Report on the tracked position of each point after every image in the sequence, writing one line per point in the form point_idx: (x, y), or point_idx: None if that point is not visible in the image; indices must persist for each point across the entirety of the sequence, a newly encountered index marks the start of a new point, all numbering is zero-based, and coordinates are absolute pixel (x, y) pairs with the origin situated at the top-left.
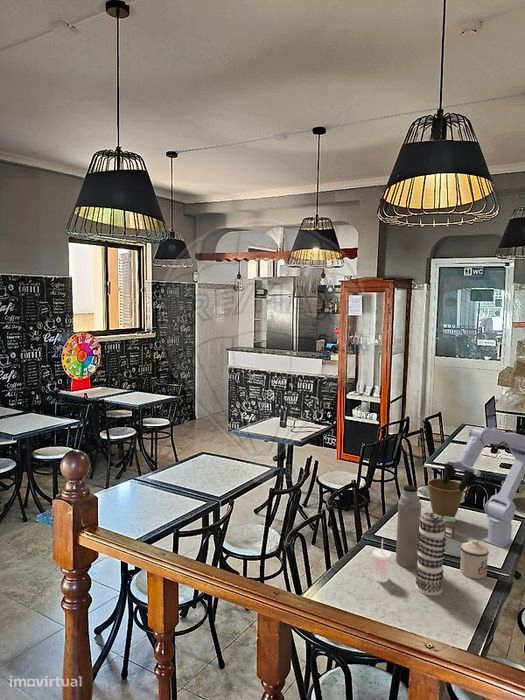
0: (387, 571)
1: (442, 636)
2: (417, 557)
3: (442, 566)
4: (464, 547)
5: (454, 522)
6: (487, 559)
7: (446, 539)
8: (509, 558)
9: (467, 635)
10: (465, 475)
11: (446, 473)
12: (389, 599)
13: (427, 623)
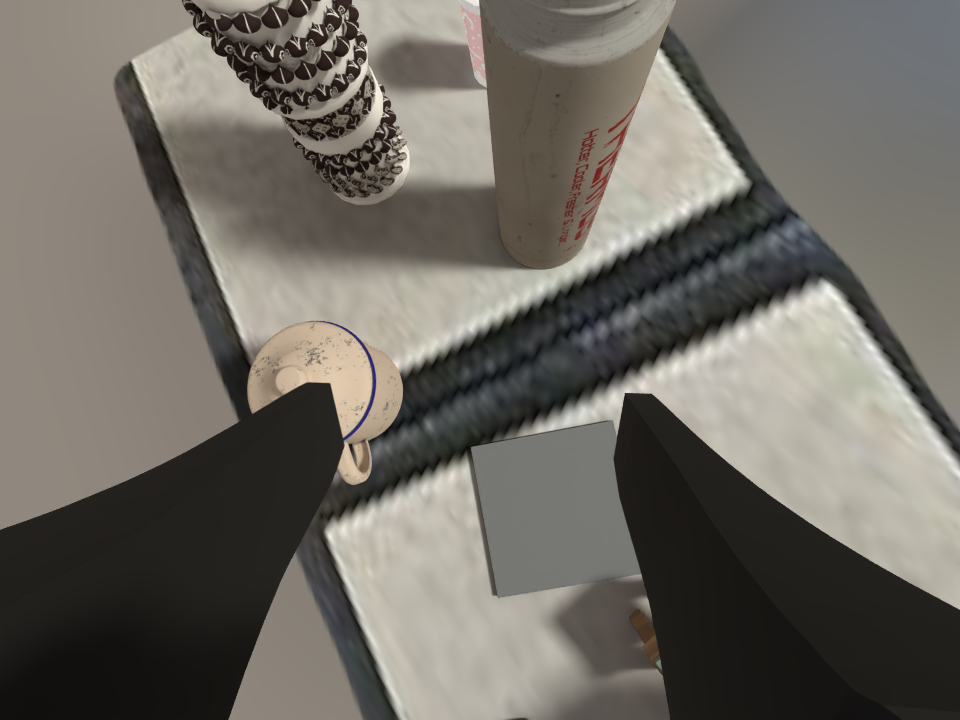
0: (468, 43)
1: (189, 30)
2: (499, 222)
3: (285, 125)
4: (330, 334)
5: (658, 656)
6: None
7: (623, 549)
8: (354, 654)
9: (155, 89)
10: (76, 526)
11: (691, 494)
12: (387, 17)
13: None
